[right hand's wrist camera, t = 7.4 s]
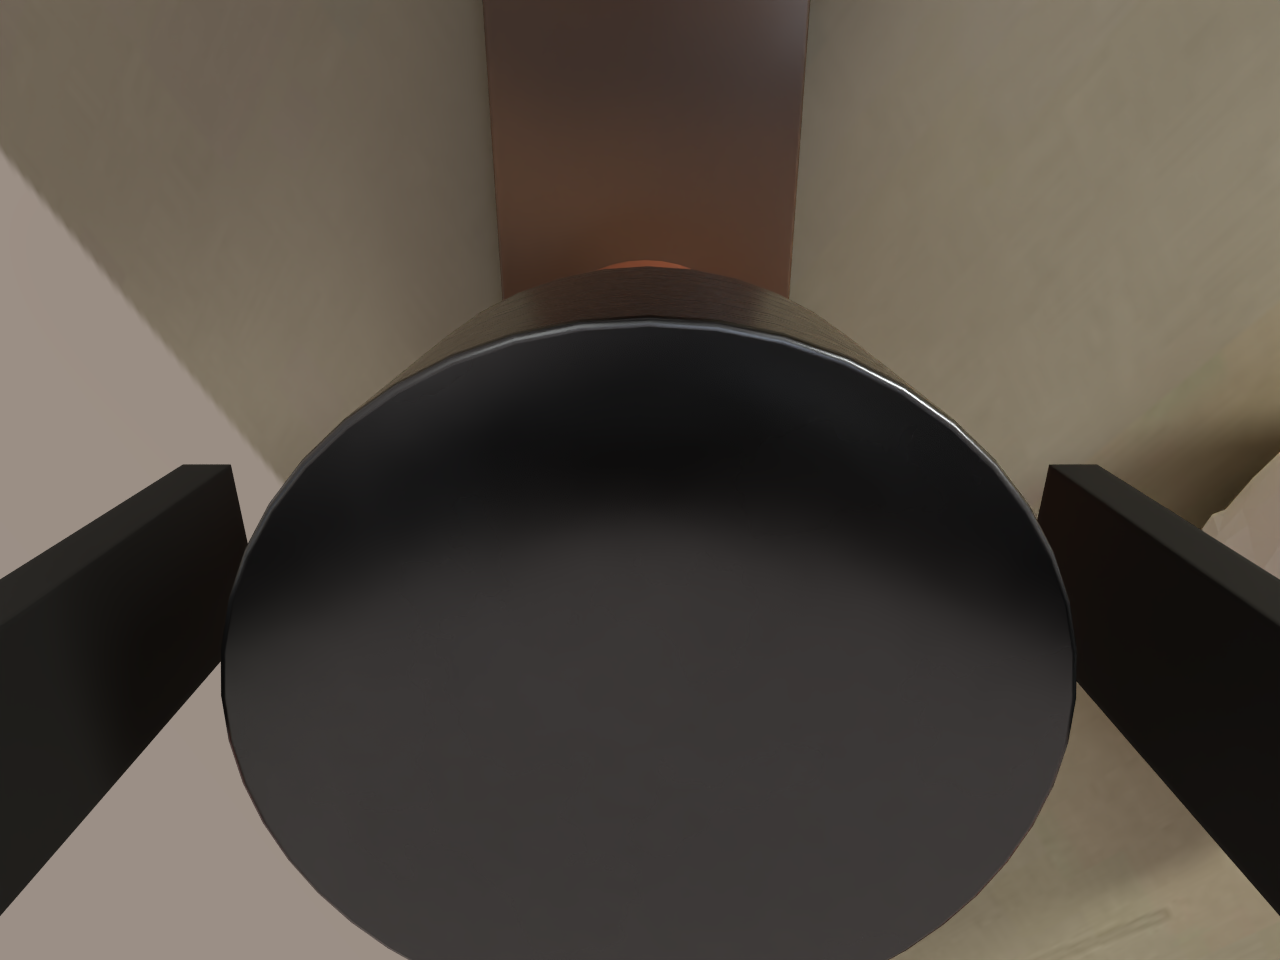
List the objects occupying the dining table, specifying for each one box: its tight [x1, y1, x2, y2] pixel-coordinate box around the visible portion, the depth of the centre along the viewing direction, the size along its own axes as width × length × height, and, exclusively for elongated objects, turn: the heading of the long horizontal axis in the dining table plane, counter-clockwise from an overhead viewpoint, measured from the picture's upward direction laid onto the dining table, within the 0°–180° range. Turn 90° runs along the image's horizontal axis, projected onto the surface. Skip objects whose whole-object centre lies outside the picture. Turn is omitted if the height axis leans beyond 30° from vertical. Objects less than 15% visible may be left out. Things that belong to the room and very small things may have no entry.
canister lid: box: [221, 266, 1077, 960], centre depth 10 cm, size 9×9×4 cm
